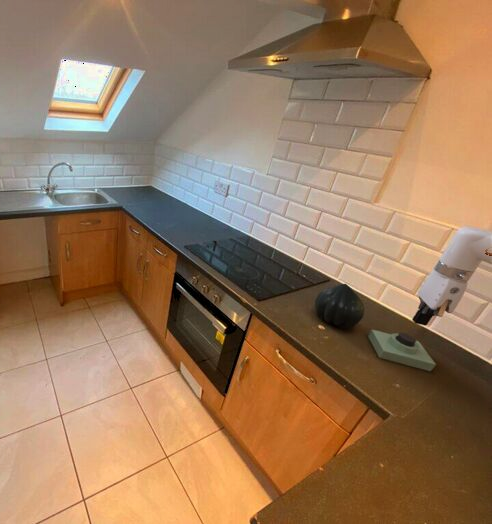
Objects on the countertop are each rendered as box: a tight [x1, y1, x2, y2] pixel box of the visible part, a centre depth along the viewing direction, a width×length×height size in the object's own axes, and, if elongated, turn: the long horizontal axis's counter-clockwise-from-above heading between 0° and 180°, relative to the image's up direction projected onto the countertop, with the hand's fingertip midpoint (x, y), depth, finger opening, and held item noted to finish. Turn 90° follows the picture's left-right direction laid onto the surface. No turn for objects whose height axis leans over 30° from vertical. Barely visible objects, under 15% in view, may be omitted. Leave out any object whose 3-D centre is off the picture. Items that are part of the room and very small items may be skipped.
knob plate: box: [367, 329, 437, 372], centre depth 97 cm, size 14×11×5 cm
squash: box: [314, 283, 366, 330], centre depth 108 cm, size 14×15×15 cm
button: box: [396, 332, 417, 347], centre depth 95 cm, size 4×4×2 cm
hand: (418, 322), depth 92 cm, fingers closed
